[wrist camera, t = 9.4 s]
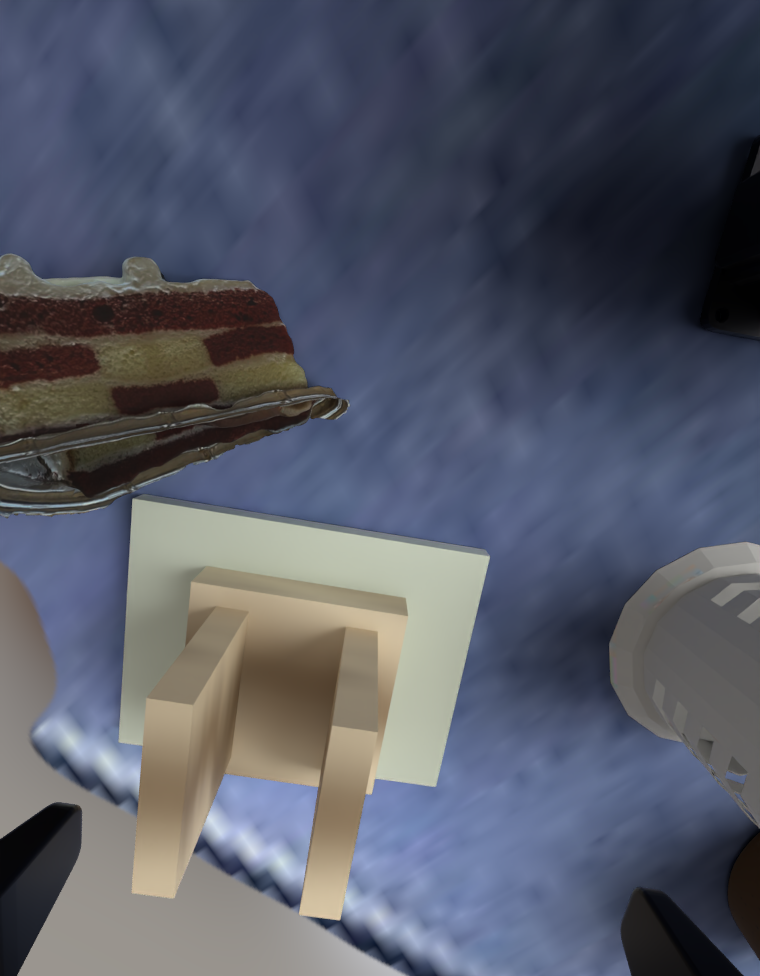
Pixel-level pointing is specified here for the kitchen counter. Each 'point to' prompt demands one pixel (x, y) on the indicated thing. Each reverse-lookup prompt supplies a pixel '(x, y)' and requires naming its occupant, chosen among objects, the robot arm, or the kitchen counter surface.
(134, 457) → the chocolate cake
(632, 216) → the kitchen counter surface
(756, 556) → the french press
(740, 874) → the olive oil
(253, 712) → the wooden slotted holder
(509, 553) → the kitchen counter surface
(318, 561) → the sage board
